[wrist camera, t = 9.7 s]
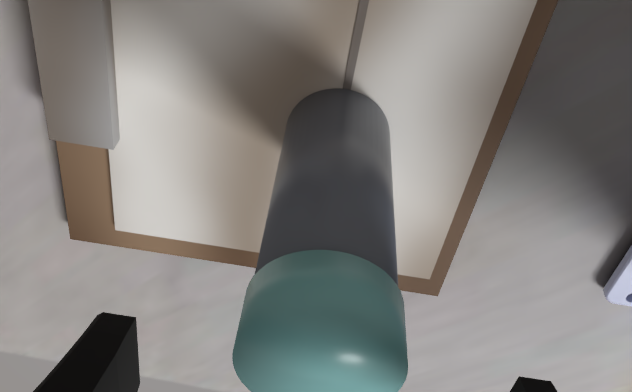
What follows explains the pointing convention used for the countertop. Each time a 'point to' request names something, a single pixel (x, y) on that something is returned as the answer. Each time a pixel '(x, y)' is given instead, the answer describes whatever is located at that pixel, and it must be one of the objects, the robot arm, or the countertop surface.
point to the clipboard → (272, 111)
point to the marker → (327, 259)
